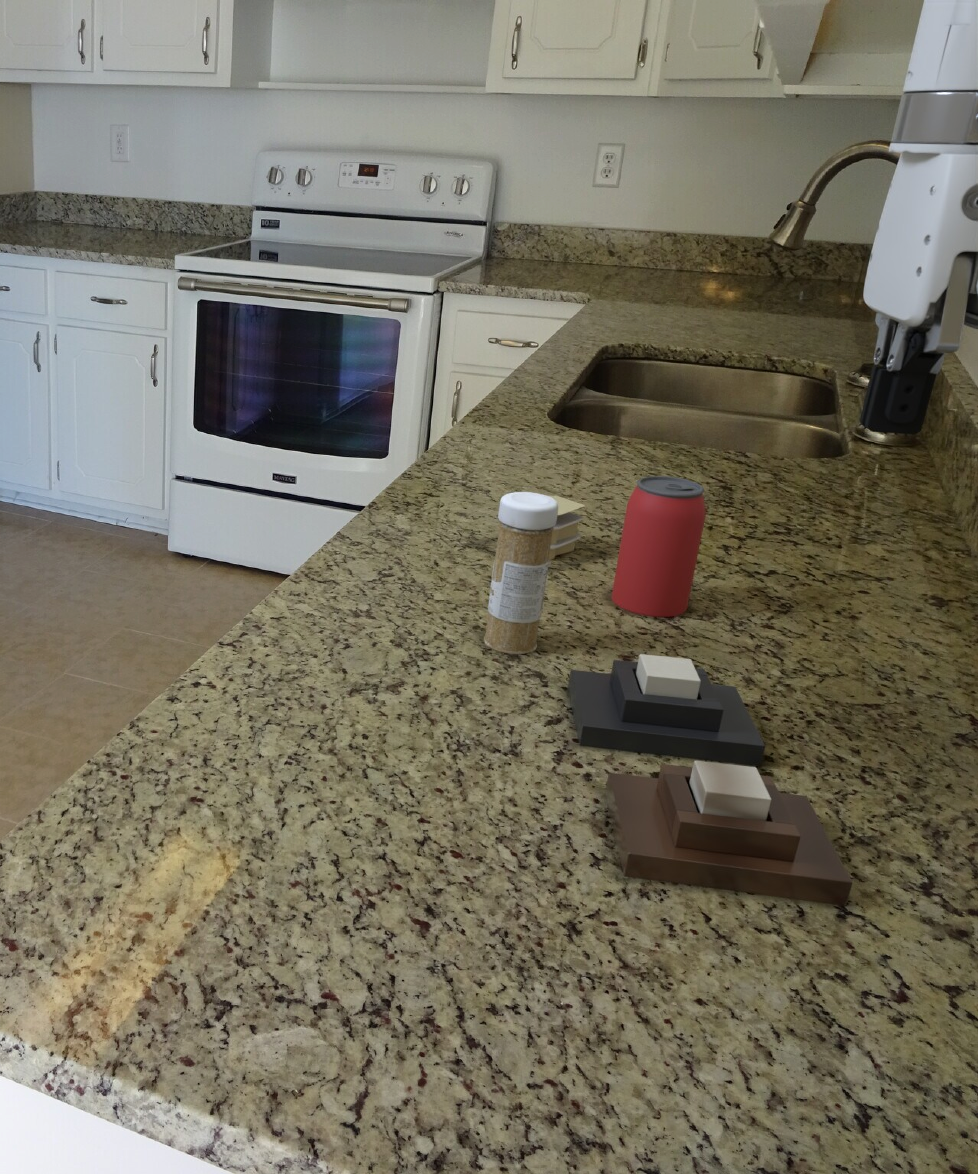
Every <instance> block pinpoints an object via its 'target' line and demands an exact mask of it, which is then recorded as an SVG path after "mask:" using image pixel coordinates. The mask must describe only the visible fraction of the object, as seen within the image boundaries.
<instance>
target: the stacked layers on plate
mask: <svg viewBox="0 0 978 1174" xmlns="http://www.w3.org/2000/svg"><path fill="white" fill-rule="evenodd" d="M548 496H549V497H551V498H553V499H555V500H556V501H557V503H558V514H557V521H556V525H555V526H554V530H553V531H552V539H551V546H550V552H549V561H551V560H554V559H555V558H556V557H555V556H559V555H563V554H566V553H571V552H574V551H575V548H576V547H575V546H576V542H577V541H578V540H581V537H582V536H581V535H580V534H577V533H578V528H579V522H582V521H584V518H585V517H584V516H581V515H579V514H576V513H573V511H575V510H578V509H581V508H583V507H586V505H585V504H582V503H580V502H577V501H573V500H571V499H568V498H565V497H562V496H559V495H555V494H554V495H548Z"/></svg>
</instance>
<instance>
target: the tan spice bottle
mask: <svg viewBox="0 0 978 1174" xmlns="http://www.w3.org/2000/svg"><path fill="white" fill-rule="evenodd" d="M549 496H550V495H546V494H542V493H538V492H531V491H515V492H509V493H506V494H504V495H503V496H502V497H501V498H500V501H499V507H498V513H497V517H498V520H499V521H498V524H499V527H498V534H497V542H496V549H495V556H494V561H493V565H492V566H493V567H492V574H491V581H490V589H489V597H488V605H487V611H488V613H487V620H486V625H485V626H486V627H485V635H484V637H483V643H484V644H485V646H487V647H489V648H490V649H492V650H495V651H497V652H499V653H505V654H510V655H524V654H529V653H532V652H535V651H536V650H537V647H538V643H537V639H538V634H539V633H538V632H539V625H540V619H541V618H542V614H543V605H544V599H545V592H546V587H547V579H548V571H549V565H550V560H549V552H550V546H551V539H552V531H553V530H554V526H555V525H556V521H557V514H558V503H557V501H556V500H555V499H553V498H551V497H549Z"/></svg>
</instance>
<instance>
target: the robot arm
mask: <svg viewBox="0 0 978 1174" xmlns="http://www.w3.org/2000/svg"><path fill="white" fill-rule="evenodd" d="M905 75H906V76H905V80H904V84H903V89H902V94H901V97H900V101H899V105H898V110H897V114H896V117H895V121H894V127H893V130H892V135H891V140H890V144H889V149H888V153H900V155H899V159H898V160H897V161H898V162H897V164H896V168H895V170H894V174H893V176H892V180H891V182H890V184H889V189H888V192H887V195H886V199H885V203H884V205H883V209H882V211H881V215H880V219H879V223H878V225H877V230H876V232H875V233H876V234H875V237H874V240H873V245H872V249H871V252H870V256H869V261H868V265H867V269H866V274H865V279H864V286H863V295H862V297H863V301H864V302H865V304H866V305H867V307H869V308H870V309H871V310H872V311H874V312H875V313H876V314H875V317H874V318H875V319H874V324H875V325H876V327H877V328H878V333H877V337H876V338H877V339H876V344H875V349H874V354H873V363H874V365H872V368H871V369H872V370H871V373H870V374H871V375H870V377H869V381H868V386H867V389H866V394H865V398H864V401H863V405H862V410H861V412H860V413H861V414H860V418H859V424H860V425H861V426H862V427H864V428H866V429H867V431H869V432H872V433H884V434H900V435H901V434H905V435H917V434H920V432H921V431H922V429H923V426H924V422H925V418H926V415H927V411H928V408H929V404H930V401H931V396H932V393H933V389H934V385H935V382H936V379H937V375H938V374H939V373H940V371H941V369H942V366H943V363H944V360H945V357H946V355H947V354H950V353H956V352H957V351H958V350H959V348H960V347H961V342H962V338H963V337H962V336H963V332H964V331H963V330H964V326H967V327H969V328H972V329H975V330H978V0H923V3H922V8H921V12H920V16H919V21H918V24H917V29H916V33H915V38H914V42H913V46H912V50H911V55H910V59H909V63H908V67H907V70H906V74H905Z"/></svg>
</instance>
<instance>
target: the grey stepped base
mask: <svg viewBox="0 0 978 1174" xmlns="http://www.w3.org/2000/svg"><path fill="white" fill-rule="evenodd" d="M637 666H638V661H629V660H620V659H619V660H617V659H614V660H613V661H612V666H611V672H610V673H607V672H598V671H597V672H595V671H586V670H576V669H570V671H569V677H568V683H567V684H568V685H567V691H568V697H569V702H570V706H571V711H572V712H571V713H572V716H573V721H574V725H575V730H576V736H577V740H578V745H579V746H580V747H586V748H587V747H588V748H594V749H595V748H596V749H605V750H612V751H623V752H629V753H631V752H632V753H637V754H638V753H641V754H649V755H657V756H666V757H674V758H682V759H691V760H699V761H708V762H716V763H725V764H734V765H743V766H751V767H761V766H762V762H763V757H764V754H765V750H766V744H765V743H764V740H763V738H762V736H761V735H760V732H759V730H758V728H757V727H756V724H755V723H754V721H753V719H752V717H751V715H750V713H749V711H748V708H747V707H746V705H745V702H744V701H743V699H742V697H741V695H740V693H739V691H738V689H737V688H736V686H733V685H723V684H713V683H712V682H711V680H710V678H709V675H708V673H707V672H706V669H705V668H699V667H695V669H696V672H697V674H698V676H699V678H700V680H701V682H700V687H699V692H698V697H697V699H687V698H677V697H668V696H658V695H649V694H642V691H641V688H640V685H639V682H638V679H637V676H636V671H637Z"/></svg>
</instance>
